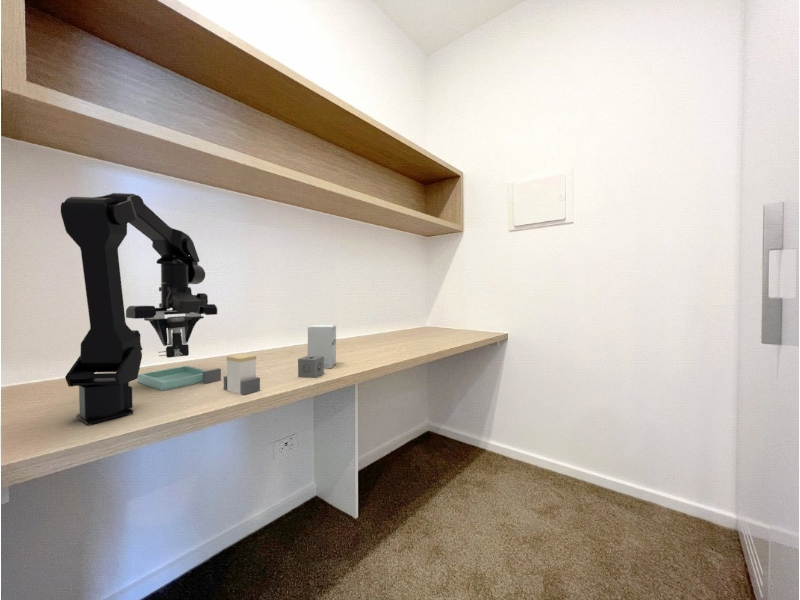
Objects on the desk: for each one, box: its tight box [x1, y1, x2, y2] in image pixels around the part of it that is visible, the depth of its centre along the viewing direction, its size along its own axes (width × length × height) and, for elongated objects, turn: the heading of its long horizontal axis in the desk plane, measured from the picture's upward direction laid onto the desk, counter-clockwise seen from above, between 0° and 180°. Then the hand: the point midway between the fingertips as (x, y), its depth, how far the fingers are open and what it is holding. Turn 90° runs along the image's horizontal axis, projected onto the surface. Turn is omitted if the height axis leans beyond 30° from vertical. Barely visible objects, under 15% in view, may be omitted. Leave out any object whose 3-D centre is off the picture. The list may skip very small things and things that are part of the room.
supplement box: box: [307, 324, 337, 370], centre depth 102 cm, size 7×7×13 cm
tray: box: [137, 365, 207, 392], centre depth 84 cm, size 12×14×2 cm
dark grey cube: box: [297, 354, 325, 379], centre depth 90 cm, size 5×5×5 cm
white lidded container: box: [226, 353, 257, 395], centre depth 77 cm, size 4×5×8 cm
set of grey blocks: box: [202, 367, 261, 396], centre depth 79 cm, size 4×17×3 cm, turn 58°
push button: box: [157, 315, 190, 358], centre depth 83 cm, size 7×5×10 cm
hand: (175, 344), depth 84 cm, fingers closed on push button, 4 cm apart
